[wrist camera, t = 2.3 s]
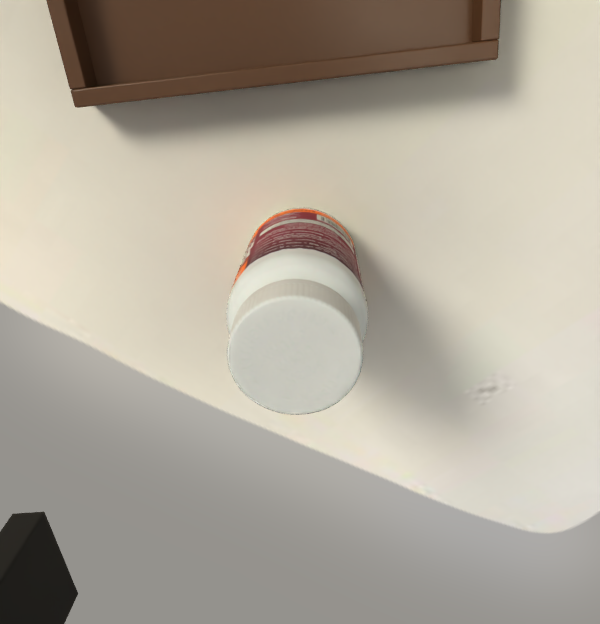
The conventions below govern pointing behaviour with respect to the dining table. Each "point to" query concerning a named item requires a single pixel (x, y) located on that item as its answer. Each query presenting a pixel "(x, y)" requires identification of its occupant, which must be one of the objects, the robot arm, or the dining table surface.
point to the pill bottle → (297, 314)
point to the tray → (258, 42)
